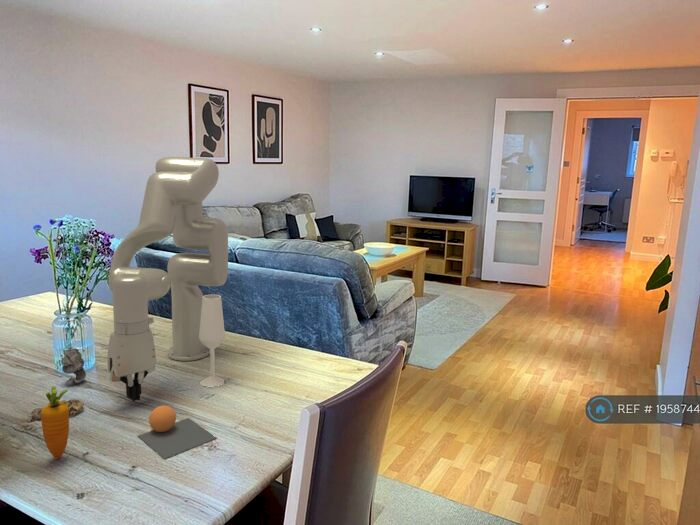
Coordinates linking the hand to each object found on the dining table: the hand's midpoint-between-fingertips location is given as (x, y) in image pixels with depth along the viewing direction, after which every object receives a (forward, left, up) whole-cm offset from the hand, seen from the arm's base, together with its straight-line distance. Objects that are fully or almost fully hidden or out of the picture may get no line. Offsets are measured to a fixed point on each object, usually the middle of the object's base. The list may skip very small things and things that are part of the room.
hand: (134, 398), depth 125 cm
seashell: (+6, -22, -2) cm, 23 cm away
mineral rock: (+15, -7, -2) cm, 16 cm away
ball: (+1, +16, +1) cm, 16 cm away
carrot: (+21, +13, -2) cm, 25 cm away
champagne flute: (-21, +1, -2) cm, 21 cm away
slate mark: (0, +21, -2) cm, 21 cm away
